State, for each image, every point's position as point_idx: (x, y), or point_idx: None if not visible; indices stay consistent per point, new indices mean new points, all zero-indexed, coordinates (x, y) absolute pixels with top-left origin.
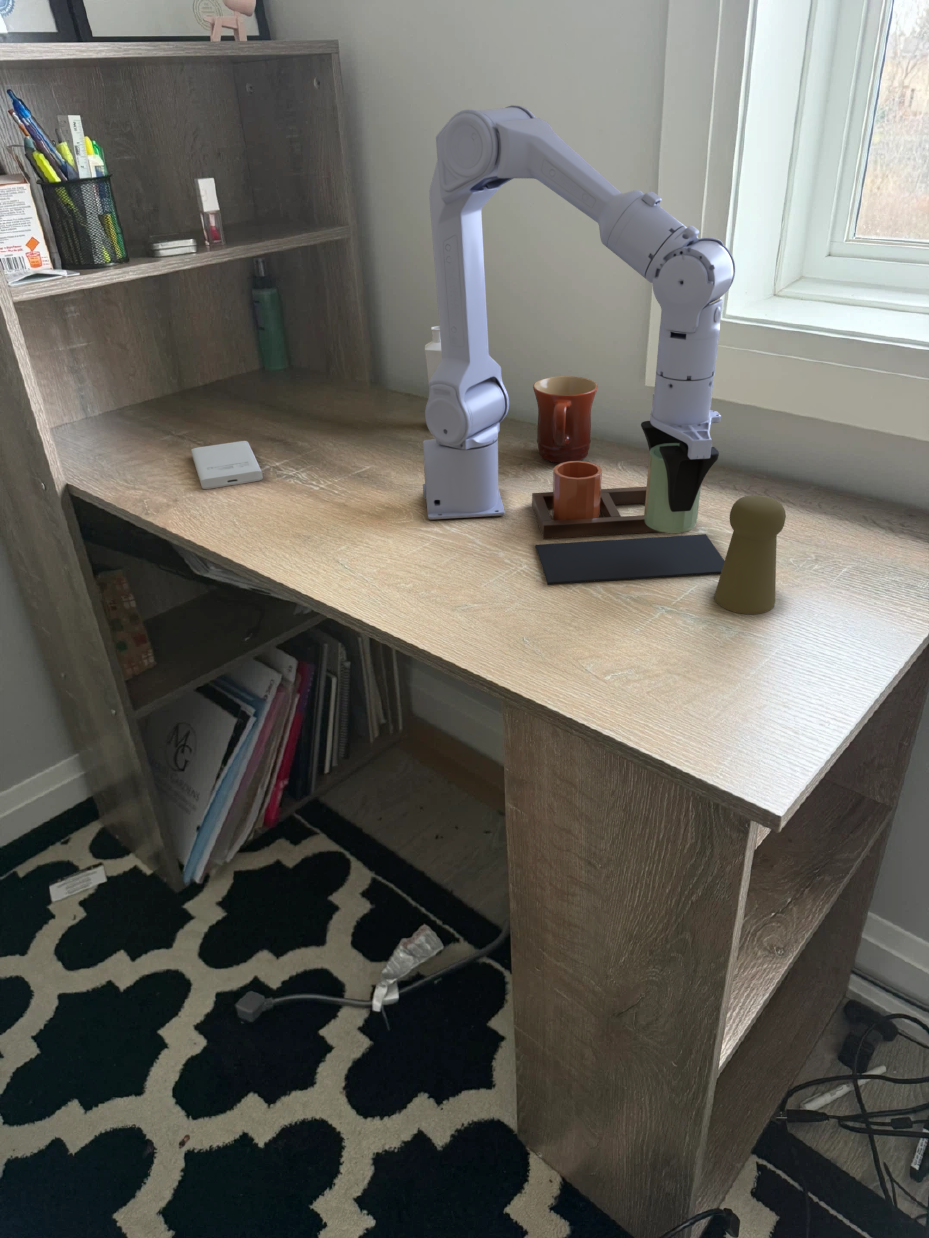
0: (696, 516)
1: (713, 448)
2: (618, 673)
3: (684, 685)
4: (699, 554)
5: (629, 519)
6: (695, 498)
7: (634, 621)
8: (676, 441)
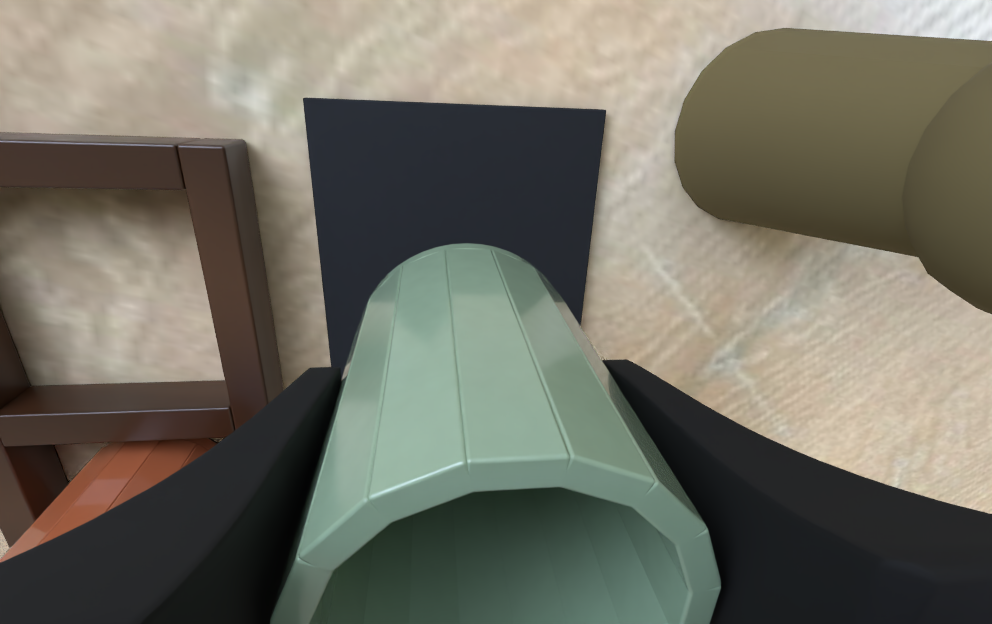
0: (540, 278)
1: (971, 595)
2: (896, 480)
3: (988, 384)
4: (471, 182)
5: (259, 387)
6: (662, 380)
7: (750, 428)
8: (244, 619)
